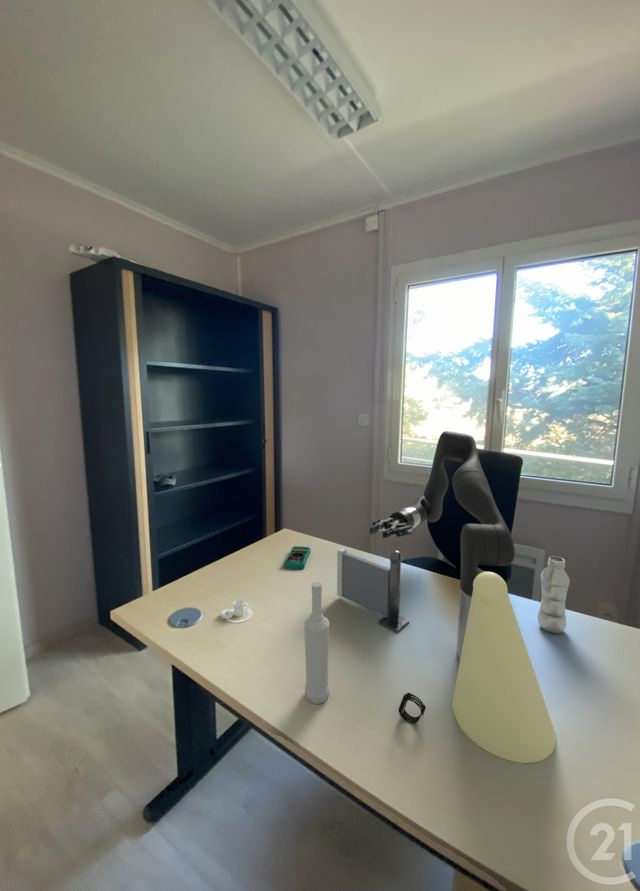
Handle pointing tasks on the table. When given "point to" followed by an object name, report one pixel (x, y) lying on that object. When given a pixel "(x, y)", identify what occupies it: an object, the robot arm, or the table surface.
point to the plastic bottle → (553, 596)
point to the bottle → (317, 650)
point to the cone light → (500, 680)
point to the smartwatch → (403, 705)
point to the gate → (363, 582)
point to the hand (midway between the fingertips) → (377, 532)
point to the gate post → (394, 595)
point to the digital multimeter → (297, 558)
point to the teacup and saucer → (237, 612)
